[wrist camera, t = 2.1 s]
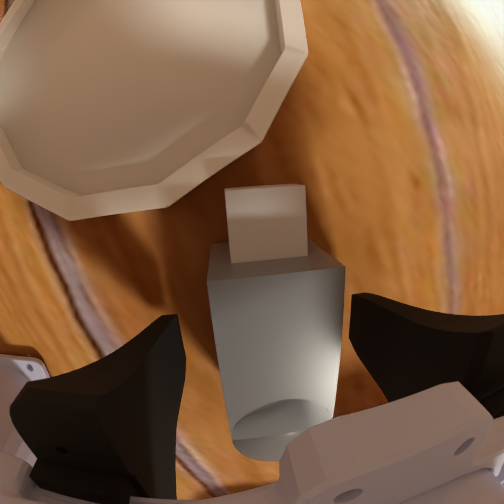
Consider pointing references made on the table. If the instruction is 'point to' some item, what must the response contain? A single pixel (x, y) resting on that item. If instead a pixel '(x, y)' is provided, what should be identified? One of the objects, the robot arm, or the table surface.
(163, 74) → the plate
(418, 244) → the table surface
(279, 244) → the connector
